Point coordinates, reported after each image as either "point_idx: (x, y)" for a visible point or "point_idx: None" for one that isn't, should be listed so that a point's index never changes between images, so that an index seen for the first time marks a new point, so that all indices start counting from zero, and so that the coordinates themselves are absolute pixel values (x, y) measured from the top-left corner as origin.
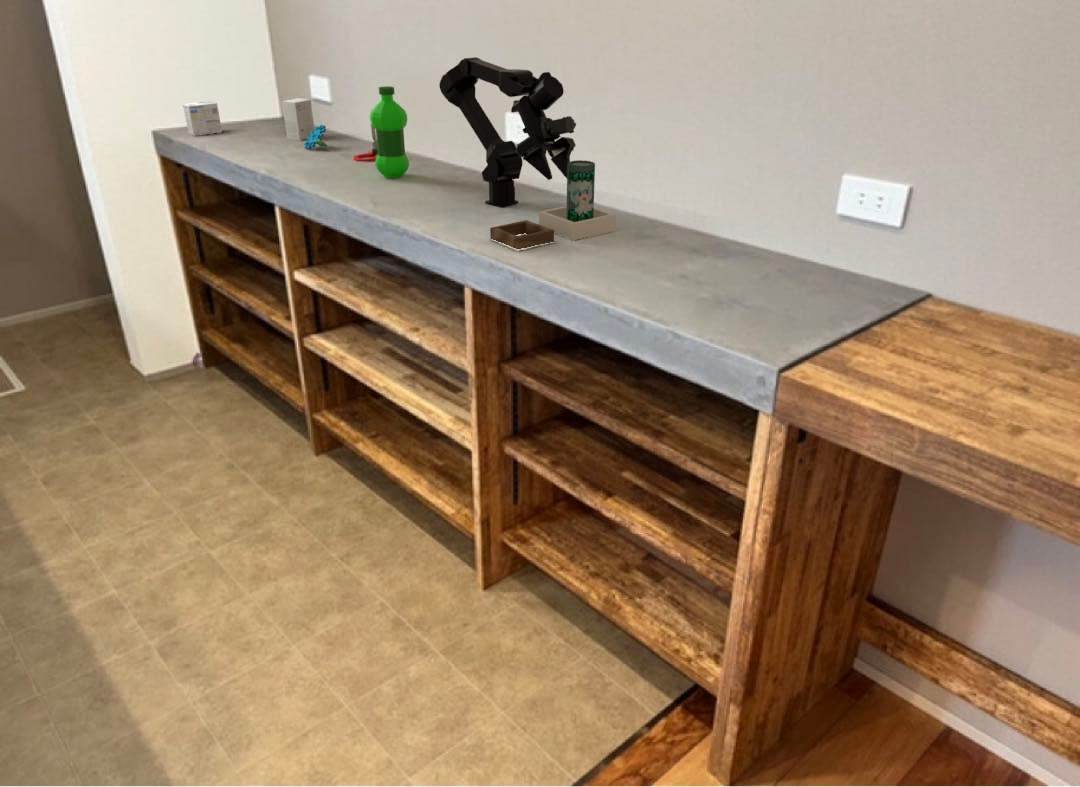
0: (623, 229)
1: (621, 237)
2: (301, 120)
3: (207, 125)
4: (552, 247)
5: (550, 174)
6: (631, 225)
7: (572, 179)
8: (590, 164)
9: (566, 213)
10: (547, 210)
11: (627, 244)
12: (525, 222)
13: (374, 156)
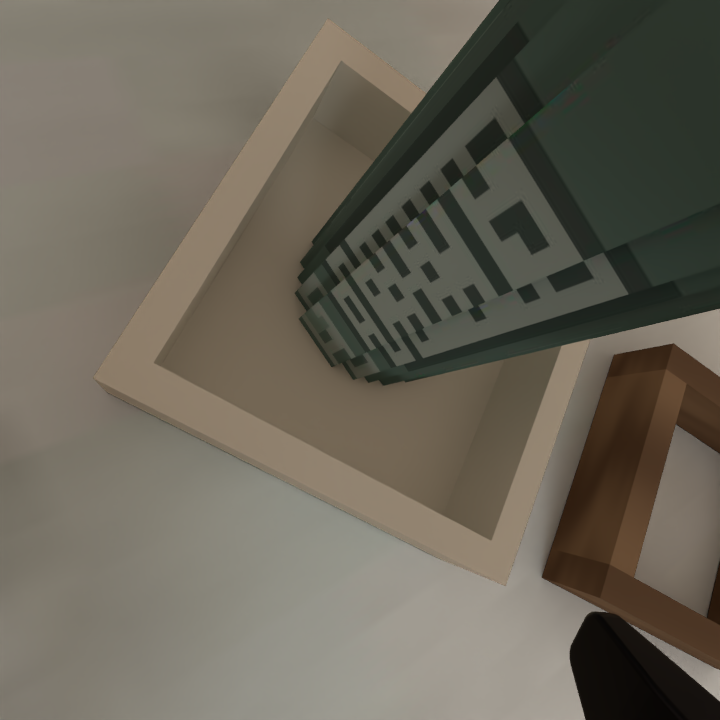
0: (237, 50)
1: (391, 50)
2: None
3: None
4: (658, 339)
5: (657, 653)
6: (120, 5)
7: None
8: None
9: (449, 371)
10: (450, 541)
11: (478, 15)
12: (630, 577)
13: None
